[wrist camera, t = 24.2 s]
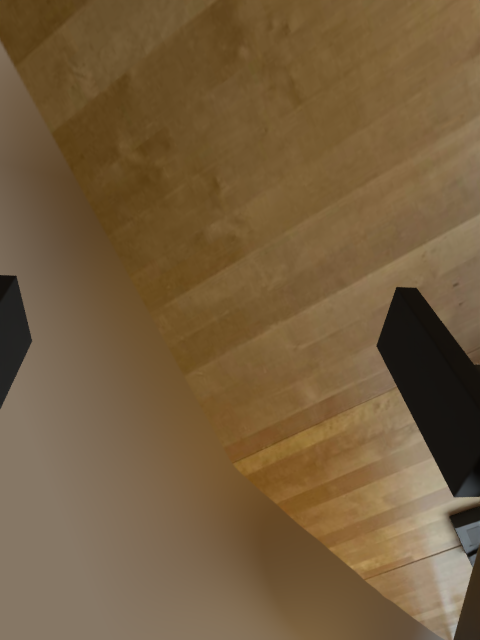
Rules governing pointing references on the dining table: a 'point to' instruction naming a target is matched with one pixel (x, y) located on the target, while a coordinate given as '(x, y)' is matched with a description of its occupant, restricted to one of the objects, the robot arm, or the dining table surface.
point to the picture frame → (468, 531)
